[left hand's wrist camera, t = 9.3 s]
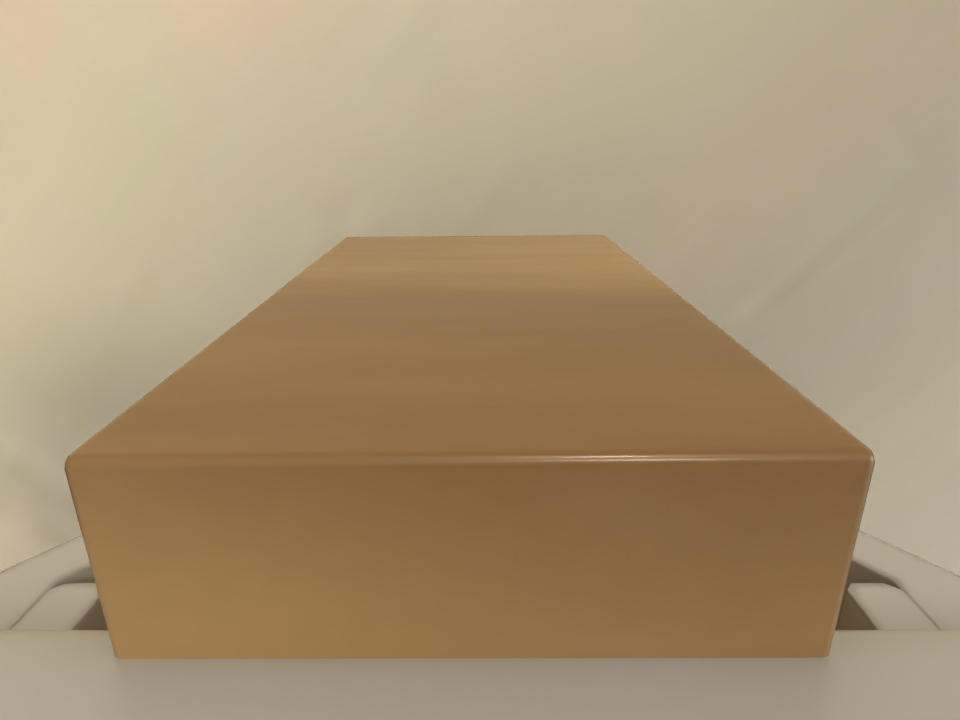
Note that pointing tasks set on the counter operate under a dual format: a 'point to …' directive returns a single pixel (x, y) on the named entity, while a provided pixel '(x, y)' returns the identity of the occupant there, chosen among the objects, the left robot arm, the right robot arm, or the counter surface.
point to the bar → (472, 472)
